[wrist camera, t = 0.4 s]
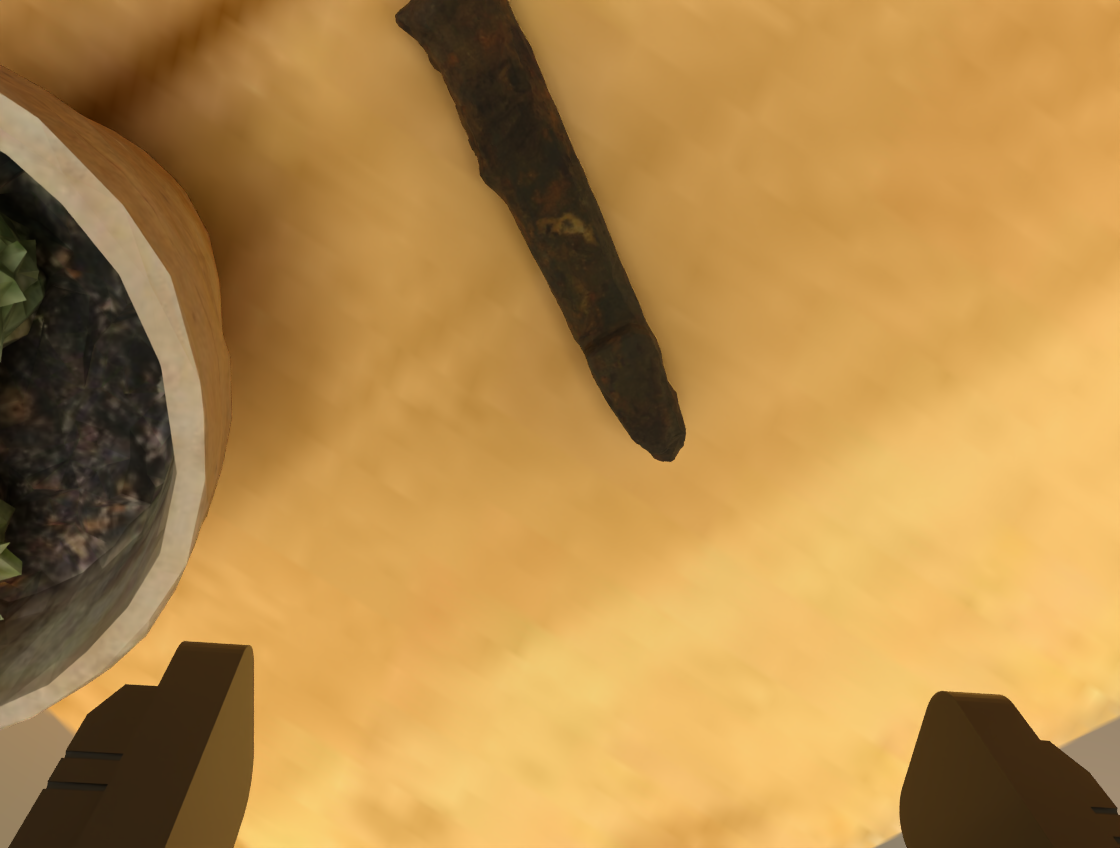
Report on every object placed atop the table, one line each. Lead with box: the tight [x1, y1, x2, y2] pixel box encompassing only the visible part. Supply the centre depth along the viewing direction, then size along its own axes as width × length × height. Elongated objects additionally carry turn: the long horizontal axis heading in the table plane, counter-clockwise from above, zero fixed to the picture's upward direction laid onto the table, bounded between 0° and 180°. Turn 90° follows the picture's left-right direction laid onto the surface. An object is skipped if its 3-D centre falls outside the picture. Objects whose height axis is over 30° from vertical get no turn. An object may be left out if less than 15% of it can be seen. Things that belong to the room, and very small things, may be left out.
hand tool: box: [395, 0, 686, 462], centre depth 35 cm, size 19×4×5 cm, turn 23°
